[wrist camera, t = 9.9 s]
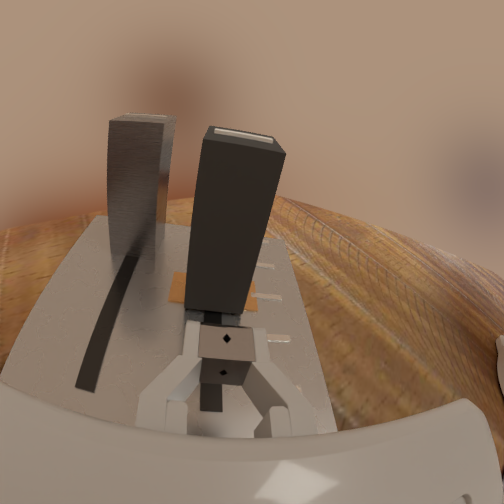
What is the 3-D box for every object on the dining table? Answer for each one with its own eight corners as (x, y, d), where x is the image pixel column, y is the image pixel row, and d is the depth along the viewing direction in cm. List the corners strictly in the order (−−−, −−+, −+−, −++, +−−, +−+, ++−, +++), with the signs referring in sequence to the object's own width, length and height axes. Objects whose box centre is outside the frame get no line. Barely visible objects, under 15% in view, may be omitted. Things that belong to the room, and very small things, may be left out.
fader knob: (239, 274, 22) (273, 133, 16) (242, 314, 19) (287, 149, 13) (190, 267, 22) (210, 122, 15) (183, 307, 18) (203, 134, 12)
